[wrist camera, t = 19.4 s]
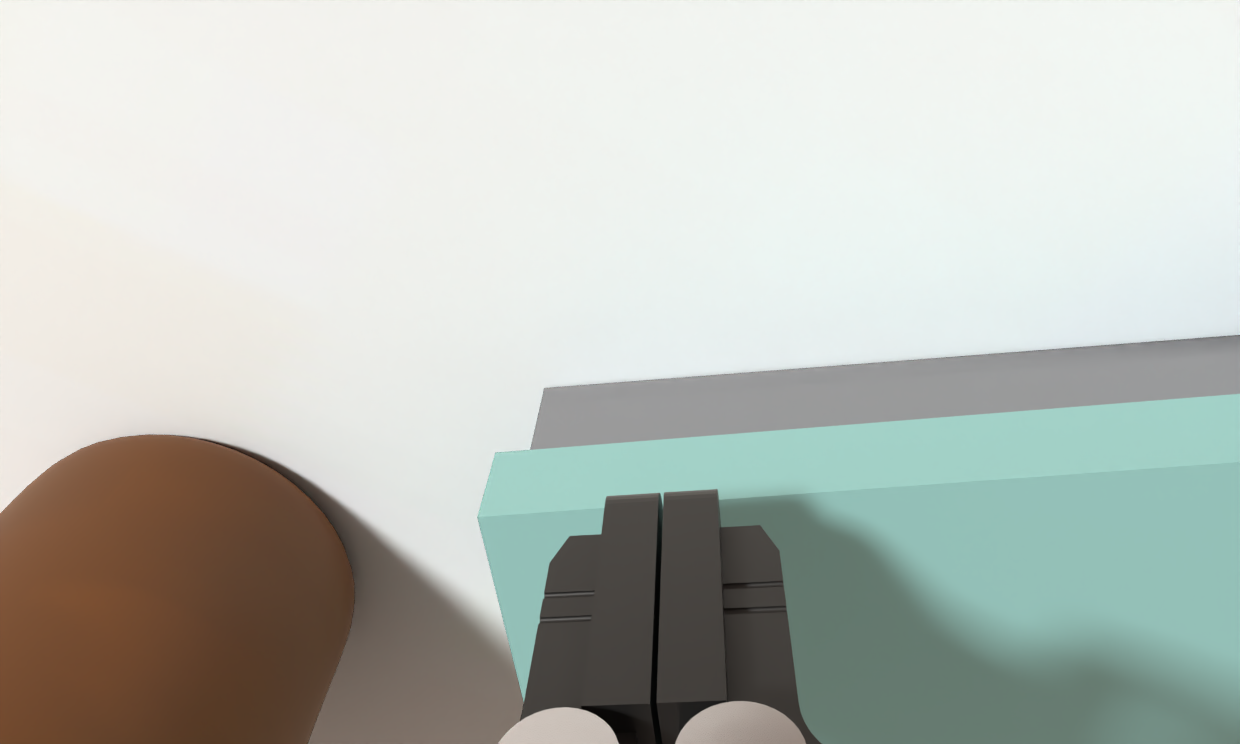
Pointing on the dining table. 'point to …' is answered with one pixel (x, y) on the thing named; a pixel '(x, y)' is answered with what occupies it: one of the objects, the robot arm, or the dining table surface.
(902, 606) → the cover
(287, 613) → the mug
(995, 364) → the grey rail
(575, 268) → the dining table surface
